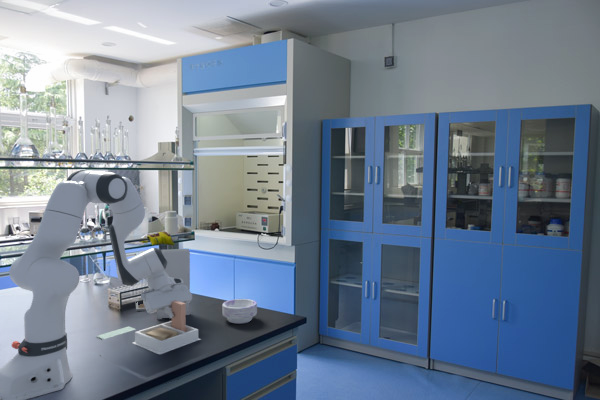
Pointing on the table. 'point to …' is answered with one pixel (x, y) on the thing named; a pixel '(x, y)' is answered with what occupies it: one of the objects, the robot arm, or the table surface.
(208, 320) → the table surface
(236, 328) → the table surface
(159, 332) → the offcut upper
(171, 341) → the white divided tray
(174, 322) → the terracotta board
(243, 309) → the paper bowls
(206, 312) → the table surface
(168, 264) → the brochure
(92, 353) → the table surface
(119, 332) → the sage mat
